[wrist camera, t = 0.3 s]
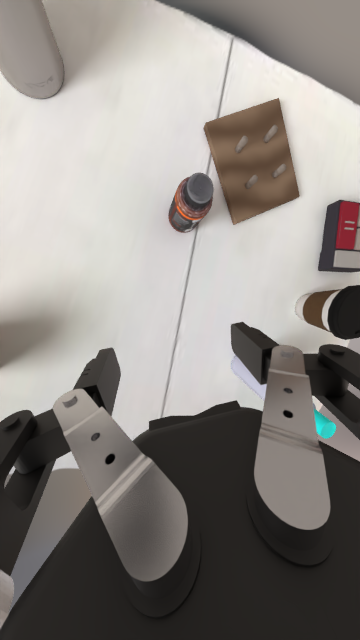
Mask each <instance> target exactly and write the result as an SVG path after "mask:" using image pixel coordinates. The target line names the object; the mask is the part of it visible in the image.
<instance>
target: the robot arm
mask: <svg viewBox="0 0 360 640" xmlns="http://www.w3.org/2000/svg"><path fill="white" fill-rule="evenodd" d="M0 71H1V72H2V74H3V75H4V77H5V78H6V79H7V81H8V82H9V83H10V84H11V85H12V86H13V87H14V88H15V89H17V90H18V91H19V92H21V93H23V94H25V95H27V96H30V97H33V98H40V99H42V98H48V97H50V96H53V95H54V94H55V93H56V92H58V90H59V89H60V87H61V86H62V83H63V79H64V66H63V62H62V58H61V55H60V52H59V50H58V47H57V44H56V41H55V38H54V35H53V32H52V29H51V26H50V23H49V20H48V17H47V15H46V12H45V9H44V6H43V3H42V0H0ZM231 345H232V349H233V352H234V353H235V354H236V356H237V357H238V358H239V359H240V361H241V362H242V363H243V364H244V365H245V367H246V368H247V369H248V370H249V372H250V373H251V374H252V375H253V376H254V378H255V379H256V380H257V381H258V383H259V384H260V385H264V384H267V386H266V394H265V401H264V408H263V412H262V411H260V410H256V409H252V408H246V407H240V405H239V404H238V402H237V400H236V401H232V402H228V403H223V404H219V405H215V406H213V407H211V408H210V409H208V410H206V411H204V412H202V413H200V414H198V415H195V416H169V417H165V418H160V419H156V420H152V421H149V430H147V431H145V432H143V433H142V434H140V435H139V436H138V437H136V438H135V439H134V440H133V441H132V440H131V439H130V438H129V437H128V436H127V435H126V433H125V432H124V431H123V430H122V429H121V428H120V426H119V425H118V424H117V423H116V422H115V421H114V419H113V418H112V417H111V416H112V411H113V407H114V403H115V398H116V394H117V390H118V385H119V381H120V376H121V372H120V367H119V364H118V361H117V358H116V354H115V351H114V349H113V348H107V349H102V350H100V351H99V353H98V355H97V357H96V359H92V360H91V361H90V362H89V363H88V364H87V365H86V367H85V368H84V371H83V372H82V374H81V376H80V377H79V379H78V381H77V383H76V385H75V386H74V388H73V390H71V391H69V392H67V393H65V394H63V395H62V396H61V397H59V398H58V399H57V400H56V402H55V403H54V405H53V409H51V410H48V411H46V412H44V413H41V414H39V415H37V416H35V417H34V415H33V414H32V412H31V411H29V410H23V411H19V412H16V413H14V414H12V415H10V416H8V417H7V418H5V419H4V420H2V421H1V422H0V640H360V462H359V461H358V460H356V459H354V458H352V457H350V456H348V455H346V454H344V453H342V452H340V451H338V450H336V449H334V448H333V447H331V446H329V445H327V444H325V443H323V442H321V441H319V440H318V438H317V430H316V422H315V415H314V408H313V401H312V396H315V397H316V398H317V399H318V400H319V401H320V402H321V403H322V404H323V405H324V406H325V407H326V408H327V409H328V410H329V411H330V412H332V414H334V415H335V416H336V417H337V418H338V419H339V420H340V421H341V422H342V423H343V424H344V425H345V426H346V427H347V428H348V429H349V430H350V431H351V432H352V433H353V434H354V435H355V436H356V437H357V438H358V439H359V440H360V399H359V398H358V397H356V396H355V395H354V394H352V393H351V392H350V391H348V390H347V388H348V384H349V383H351V384H352V385H353V386H354V387H356V388H357V389H359V390H360V354H358V353H356V352H354V351H352V350H350V349H348V348H346V347H343V346H340V345H333V344H327V345H322V346H320V348H319V352H318V354H303V353H302V351H301V350H299V349H298V348H295V347H292V346H287V345H279V344H277V343H276V342H275V341H273V340H272V339H271V338H269V337H268V336H267V335H265V334H264V333H262V332H261V331H260V330H258V329H255V328H252V327H251V328H250V327H249V326H247V325H246V324H245V323H244V322H240V323H235V324H232V325H231ZM70 451H72V454H73V456H74V458H75V460H76V462H77V464H78V466H79V469H80V471H81V473H82V475H83V477H84V479H85V482H86V483H87V486H88V488H89V490H90V492H91V494H92V496H91V498H90V499H89V501H88V502H87V503H86V505H85V507H84V508H83V509H82V510H81V512H80V513H79V515H78V516H77V517H76V519H75V520H74V522H73V523H72V524H71V526H70V527H69V529H68V530H67V532H66V533H65V534H64V536H63V537H62V538H61V540H60V541H59V543H58V544H57V545H56V547H55V548H54V550H53V551H52V553H51V554H50V555H49V557H48V558H47V559H46V561H45V562H44V564H43V565H42V566H41V568H40V569H39V571H38V572H37V573H36V575H35V576H34V578H33V579H32V580H31V582H30V583H29V585H28V586H27V587H26V589H25V590H24V592H23V593H22V595H21V596H20V597H19V599H18V601H17V602H16V603H15V605H14V606H13V608H12V610H11V611H10V613H9V610H10V607H11V603H12V599H13V593H14V584H13V580H12V578H11V577H10V575H11V573H12V570H13V568H14V565H15V563H16V560H17V557H18V555H19V552H20V550H21V547H22V545H23V542H24V540H25V537H26V535H27V532H28V529H29V527H30V524H31V522H32V519H33V517H34V514H35V512H36V509H37V507H38V504H39V501H40V499H41V497H42V494H43V491H44V489H45V486H46V484H47V481H48V479H49V476H50V473H51V471H52V469H53V466H54V463H55V461H56V459H57V458H59V457H61V456H63V455H65V454H67V453H68V452H70ZM13 466H14V467H15V468H16V469H15V471H14V473H13V475H12V476H11V478H10V480H9V482H8V484H7V485H6V487H5V489H4V483H5V480H6V477H7V475H8V474H9V472H10V470H11V468H12V467H13Z"/></svg>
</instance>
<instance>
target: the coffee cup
mask: <svg viewBox="0 0 360 640" xmlns="http://www.w3.org/2000/svg"><path fill="white" fill-rule="evenodd" d="M295 313H296V315H297V316H298V317H299V318H300V319H301V320H304V321H306V322H307V323H309V324H312V325H314V326H317V327H319V328H321V329H324V330H326V331H329V332H332V333H333V335H334V336H335V337H338V338H341V339H344V340H347V339H353V338H359V337H360V285H356V286H348V287H346V288H344V289H340V290H331V291H323V292H316V293H313V294H306V295H304V296H302V297H300V298H299V299H298V301H297V302H296V304H295Z"/></svg>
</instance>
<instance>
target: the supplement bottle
mask: <svg viewBox="0 0 360 640" xmlns="http://www.w3.org/2000/svg"><path fill="white" fill-rule="evenodd" d="M212 195H213V184H212V181H211V179H210V178H209V177H208V176H207V175H205V174H203V173H195V174H193V175H192V176H191V177H187V178H186V179H184V180H183V181H182V182H181V183H180V185H179V186H178V188H177V191H176V193H175V196H174V199H173V201H172V204H171V207H170V210H169V221H170V223H171V225H172V227H173V228H174V229H175V230H177V231H179V232H183V233H184V232H189V231H191V230H192V229H193V228H194V227H195V226H196V225H197V224H198V223H199V222H200V221H201V220H202V218H203V217H204V216H205V215H206V214H207V213H208V211H209V210H210V208H211V206H212V198H213V197H212Z"/></svg>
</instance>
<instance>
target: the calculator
mask: <svg viewBox="0 0 360 640" xmlns="http://www.w3.org/2000/svg"><path fill="white" fill-rule="evenodd" d="M318 270H319V271H331V272H358V271H360V203H357V202H350V201H343V200H339V201H337V202H335V203H333V204H331V205H329V206H328V207H327V213H326V219H325V226H324V234H323V244H322V252H321V253H320V260H319V266H318Z"/></svg>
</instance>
